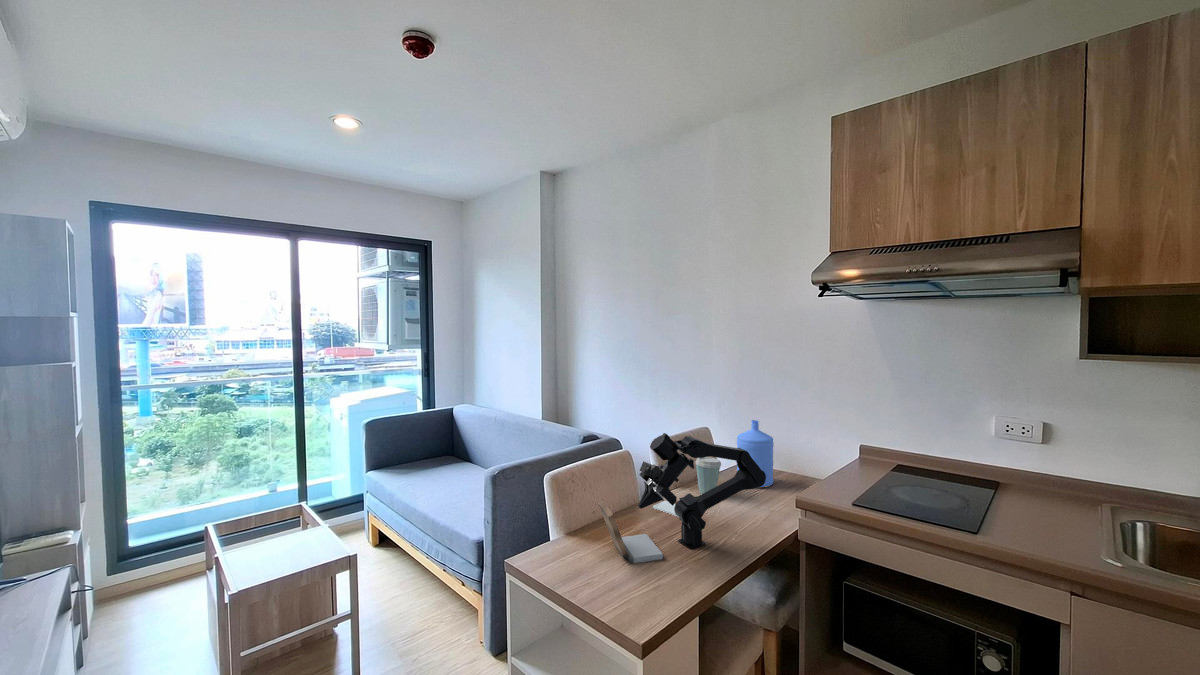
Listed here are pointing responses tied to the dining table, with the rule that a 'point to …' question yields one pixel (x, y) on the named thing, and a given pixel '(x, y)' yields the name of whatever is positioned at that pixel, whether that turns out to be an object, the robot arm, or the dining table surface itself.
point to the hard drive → (665, 507)
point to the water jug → (758, 449)
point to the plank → (613, 529)
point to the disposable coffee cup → (707, 473)
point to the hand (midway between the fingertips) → (639, 507)
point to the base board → (641, 548)
